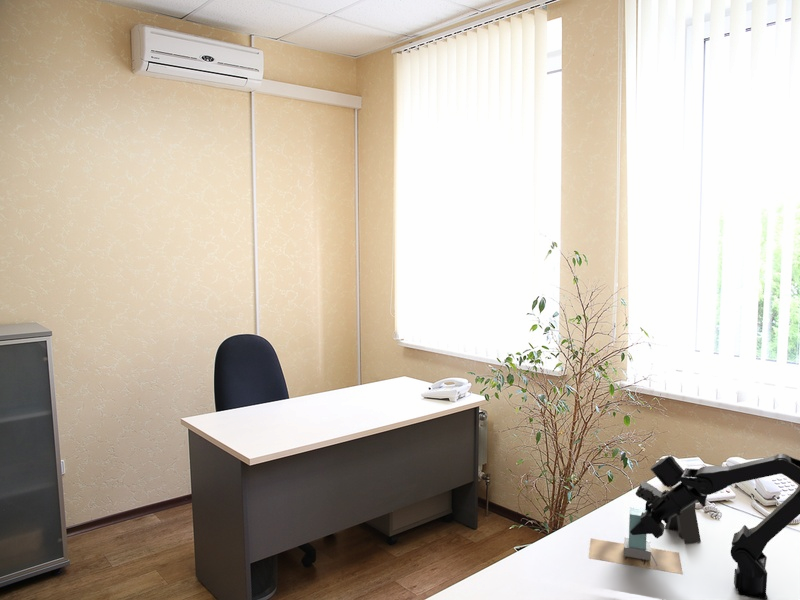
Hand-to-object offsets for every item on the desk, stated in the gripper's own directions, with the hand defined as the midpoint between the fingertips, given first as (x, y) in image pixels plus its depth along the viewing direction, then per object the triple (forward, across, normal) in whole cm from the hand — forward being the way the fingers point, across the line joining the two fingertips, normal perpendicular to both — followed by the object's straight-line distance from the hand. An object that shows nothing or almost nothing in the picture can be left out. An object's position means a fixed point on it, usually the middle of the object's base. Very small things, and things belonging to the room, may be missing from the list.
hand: (632, 529), depth 173 cm
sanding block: (+4, 0, +6) cm, 7 cm away
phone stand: (-1, -22, +14) cm, 26 cm away
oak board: (+6, 0, +7) cm, 9 cm away
